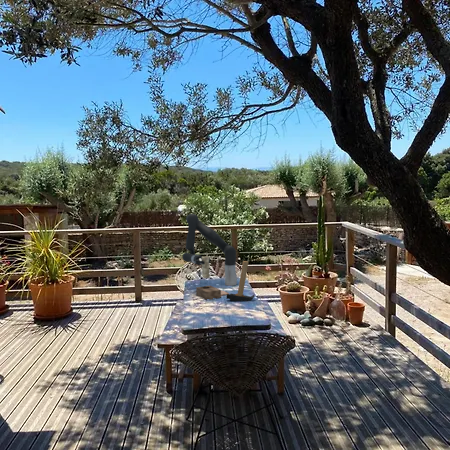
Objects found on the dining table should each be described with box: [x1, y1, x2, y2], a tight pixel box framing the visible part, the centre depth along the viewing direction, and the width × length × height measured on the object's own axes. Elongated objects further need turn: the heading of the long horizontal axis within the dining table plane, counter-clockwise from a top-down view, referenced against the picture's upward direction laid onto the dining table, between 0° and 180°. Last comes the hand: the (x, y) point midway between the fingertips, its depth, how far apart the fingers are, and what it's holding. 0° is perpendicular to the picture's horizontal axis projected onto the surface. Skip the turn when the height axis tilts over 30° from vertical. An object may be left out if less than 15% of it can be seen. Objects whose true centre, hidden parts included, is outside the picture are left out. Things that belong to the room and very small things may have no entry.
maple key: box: [201, 255, 211, 279], centre depth 329 cm, size 4×4×16 cm
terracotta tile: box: [220, 289, 230, 297], centre depth 335 cm, size 8×12×1 cm, turn 29°
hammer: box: [225, 260, 255, 302], centre depth 312 cm, size 20×5×30 cm, turn 91°
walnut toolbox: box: [195, 285, 222, 301], centre depth 327 cm, size 12×18×6 cm, turn 29°
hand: (207, 262), depth 326 cm, fingers closed on maple key, 4 cm apart
